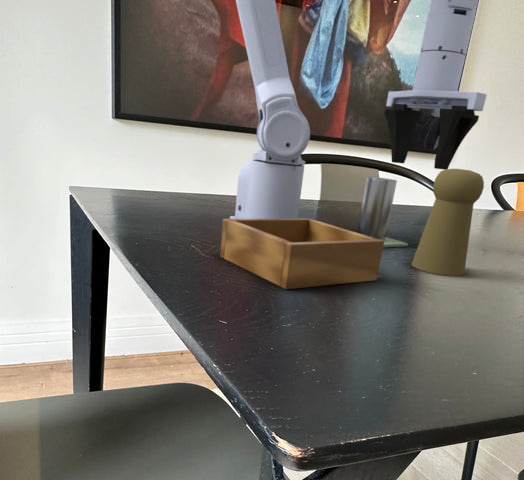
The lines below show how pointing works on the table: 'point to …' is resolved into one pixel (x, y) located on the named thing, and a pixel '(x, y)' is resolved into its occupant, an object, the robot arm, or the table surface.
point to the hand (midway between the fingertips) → (418, 165)
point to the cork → (449, 223)
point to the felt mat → (393, 243)
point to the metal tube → (376, 207)
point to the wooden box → (300, 251)
